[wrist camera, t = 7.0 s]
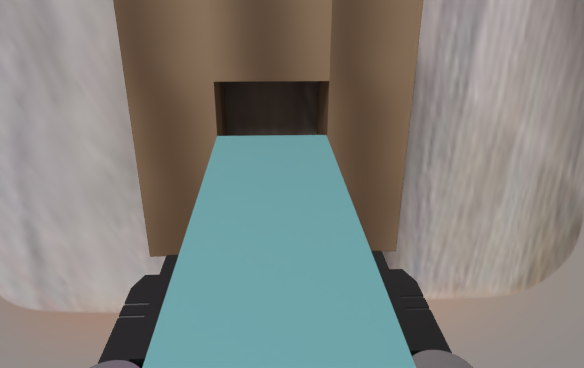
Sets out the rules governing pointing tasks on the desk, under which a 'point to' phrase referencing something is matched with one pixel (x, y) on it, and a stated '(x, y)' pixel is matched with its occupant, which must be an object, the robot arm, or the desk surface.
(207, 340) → the peg
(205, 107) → the socket block
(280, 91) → the desk surface
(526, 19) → the desk surface
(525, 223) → the desk surface
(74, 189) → the desk surface
